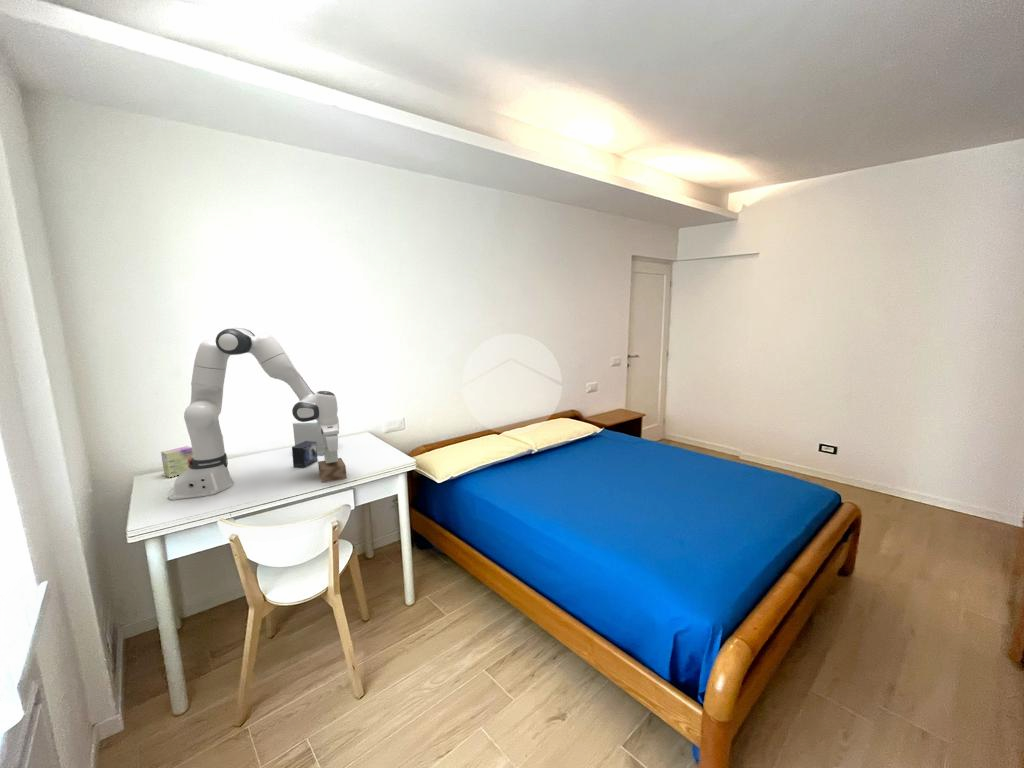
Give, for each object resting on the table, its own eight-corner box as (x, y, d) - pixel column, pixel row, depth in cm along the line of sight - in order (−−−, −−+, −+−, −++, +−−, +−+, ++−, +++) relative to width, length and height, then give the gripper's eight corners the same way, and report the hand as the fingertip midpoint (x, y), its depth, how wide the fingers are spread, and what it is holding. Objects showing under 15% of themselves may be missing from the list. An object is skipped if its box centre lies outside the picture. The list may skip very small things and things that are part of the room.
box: (190, 469, 205) (186, 445, 203) (195, 471, 202) (192, 447, 200) (164, 476, 196) (160, 451, 194) (169, 478, 193) (165, 453, 191)
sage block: (326, 463, 190) (325, 450, 189) (324, 460, 194) (323, 447, 193) (338, 461, 192) (337, 448, 191) (336, 458, 196) (335, 445, 195)
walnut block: (322, 482, 187) (321, 469, 186) (319, 473, 197) (318, 461, 196) (346, 478, 192) (345, 465, 191) (341, 469, 202) (340, 457, 201)
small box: (304, 468, 204) (302, 447, 202) (292, 467, 205) (290, 447, 203) (318, 461, 214) (316, 441, 212) (307, 460, 215) (305, 440, 214)
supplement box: (337, 447, 236) (334, 415, 233) (329, 455, 223) (326, 422, 219) (305, 448, 234) (302, 416, 231) (295, 456, 221) (291, 423, 218)
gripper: (317, 422, 198) (320, 450, 200) (323, 433, 180) (326, 464, 183) (332, 420, 201) (334, 448, 203) (339, 431, 183) (341, 461, 186)
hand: (330, 456), depth 193 cm, fingers closed on sage block, 5 cm apart
